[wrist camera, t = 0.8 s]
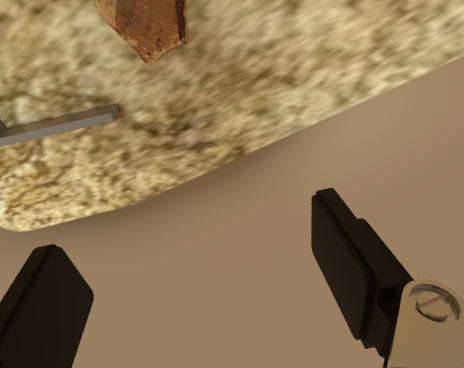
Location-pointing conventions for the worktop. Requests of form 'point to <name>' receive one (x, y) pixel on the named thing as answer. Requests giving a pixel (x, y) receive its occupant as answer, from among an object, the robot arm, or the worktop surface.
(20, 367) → the robot arm
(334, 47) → the worktop surface
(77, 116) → the grey u-shaped bracket
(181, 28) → the shard
